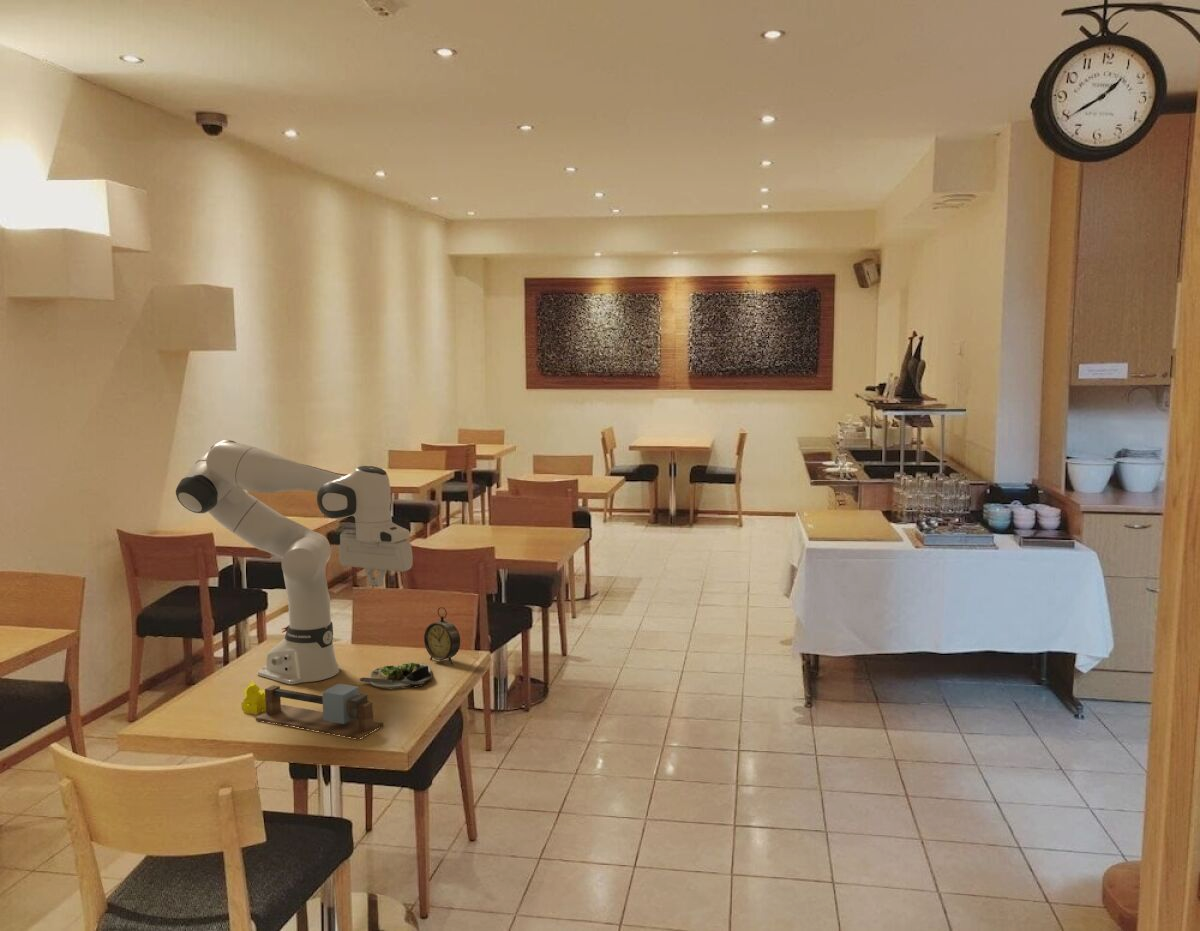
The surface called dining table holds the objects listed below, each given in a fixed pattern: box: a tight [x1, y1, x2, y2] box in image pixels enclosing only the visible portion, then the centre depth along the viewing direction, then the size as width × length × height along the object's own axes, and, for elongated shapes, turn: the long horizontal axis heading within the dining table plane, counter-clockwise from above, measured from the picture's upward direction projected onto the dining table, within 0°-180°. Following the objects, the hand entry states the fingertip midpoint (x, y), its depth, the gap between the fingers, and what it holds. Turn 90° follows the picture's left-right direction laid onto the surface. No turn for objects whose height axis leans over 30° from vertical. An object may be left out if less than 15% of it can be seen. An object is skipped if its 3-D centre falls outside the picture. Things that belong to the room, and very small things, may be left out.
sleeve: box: [321, 683, 360, 724], centre depth 223 cm, size 6×6×7 cm
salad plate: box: [359, 662, 433, 690], centre depth 256 cm, size 19×18×5 cm
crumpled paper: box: [240, 679, 266, 714], centre depth 236 cm, size 6×8×8 cm
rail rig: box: [255, 684, 384, 740], centre depth 226 cm, size 31×9×8 cm, turn 67°
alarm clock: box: [423, 606, 461, 665], centre depth 270 cm, size 11×5×16 cm, turn 55°
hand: (376, 585), depth 234 cm, fingers closed
